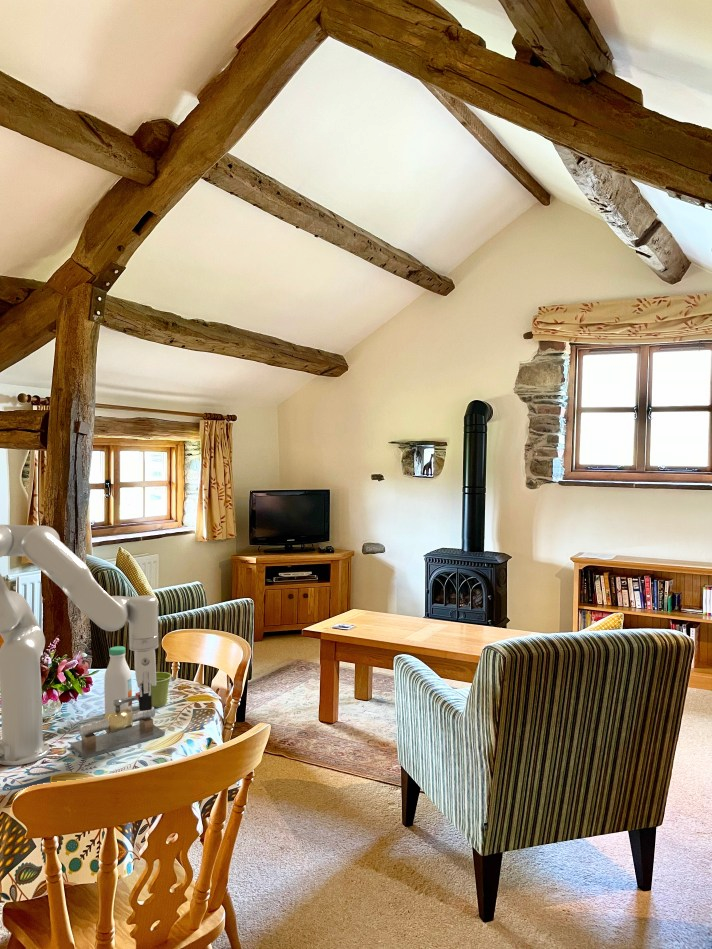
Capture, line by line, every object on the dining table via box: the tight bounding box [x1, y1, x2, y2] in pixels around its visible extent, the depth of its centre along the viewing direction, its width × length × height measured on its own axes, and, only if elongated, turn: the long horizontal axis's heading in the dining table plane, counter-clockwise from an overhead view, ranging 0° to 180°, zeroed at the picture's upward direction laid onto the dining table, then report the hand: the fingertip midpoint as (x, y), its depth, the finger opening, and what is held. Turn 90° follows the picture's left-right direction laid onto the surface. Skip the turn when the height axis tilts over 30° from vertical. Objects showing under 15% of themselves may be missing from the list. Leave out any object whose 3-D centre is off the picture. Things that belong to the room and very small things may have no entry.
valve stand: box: [70, 706, 166, 760], centre depth 190 cm, size 22×10×10 cm, turn 131°
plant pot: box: [151, 671, 172, 708], centre depth 218 cm, size 9×9×9 cm
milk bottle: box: [103, 645, 133, 715], centre depth 210 cm, size 8×8×20 cm
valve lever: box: [113, 691, 140, 706], centre depth 193 cm, size 10×2×2 cm, turn 135°
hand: (145, 709), depth 190 cm, fingers closed
